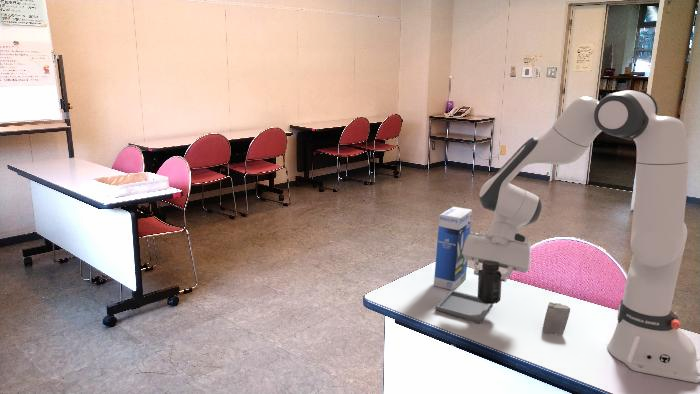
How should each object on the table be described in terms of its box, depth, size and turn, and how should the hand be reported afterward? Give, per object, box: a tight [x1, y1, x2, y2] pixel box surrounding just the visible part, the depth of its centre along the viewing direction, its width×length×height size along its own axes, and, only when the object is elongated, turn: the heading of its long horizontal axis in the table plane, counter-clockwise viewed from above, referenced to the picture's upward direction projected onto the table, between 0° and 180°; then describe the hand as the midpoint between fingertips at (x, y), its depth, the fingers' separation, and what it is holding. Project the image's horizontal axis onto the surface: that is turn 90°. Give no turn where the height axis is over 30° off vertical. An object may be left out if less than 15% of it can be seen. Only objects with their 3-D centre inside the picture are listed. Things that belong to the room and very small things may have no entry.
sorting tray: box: [435, 290, 494, 325], centre depth 164 cm, size 14×14×2 cm
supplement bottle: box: [477, 260, 503, 305], centre depth 158 cm, size 7×7×12 cm
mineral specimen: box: [542, 302, 571, 336], centre depth 153 cm, size 7×9×8 cm
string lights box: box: [433, 206, 473, 291], centre depth 181 cm, size 13×8×26 cm, turn 149°
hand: (489, 277), depth 157 cm, fingers closed on supplement bottle, 7 cm apart
